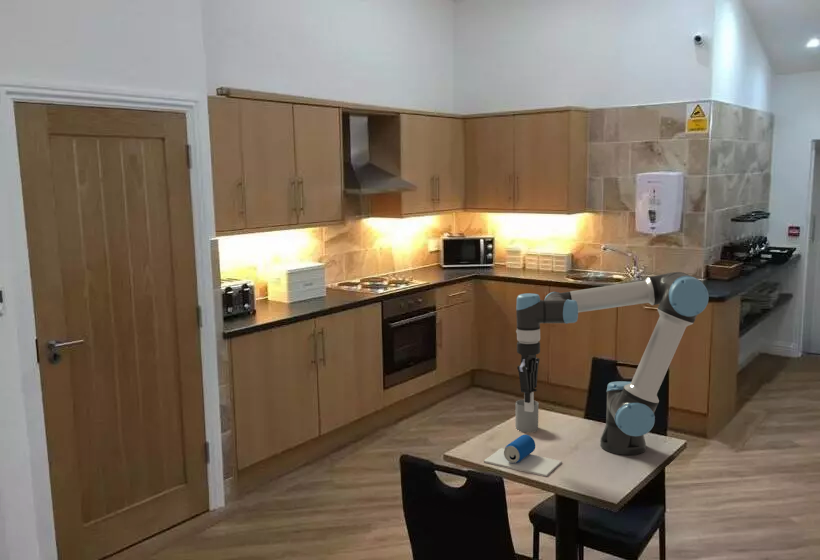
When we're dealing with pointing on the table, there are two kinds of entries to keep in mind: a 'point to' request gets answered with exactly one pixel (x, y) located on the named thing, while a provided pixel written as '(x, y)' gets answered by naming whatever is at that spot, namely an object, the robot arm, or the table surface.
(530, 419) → the cup
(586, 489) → the table surface
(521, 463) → the flat white box
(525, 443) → the beverage can
